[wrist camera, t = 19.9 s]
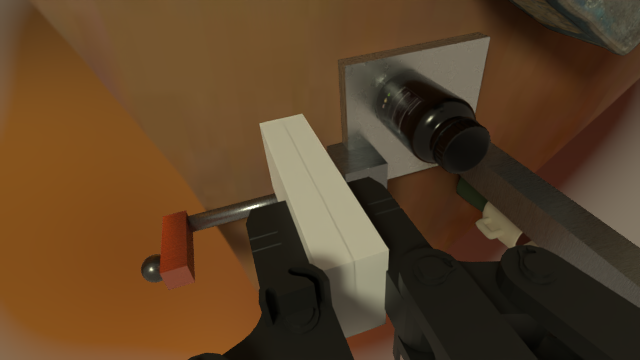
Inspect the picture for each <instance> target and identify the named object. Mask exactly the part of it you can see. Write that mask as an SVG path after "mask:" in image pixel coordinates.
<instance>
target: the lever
mask: <svg viewBox="0 0 640 360" xmlns="http://www.w3.org/2000/svg"><path fill="white" fill-rule="evenodd" d="M277 202H278V200H277V197H276V194H275V193H274V194H270V195H266V196H263V197H259V198H255V199H251V200H247V201H244V202H240V203H236V204H232V205H229V206H225V207H221V208H217V209H213V210H210V211H206V212H202V213H198V214H195V215H191V216H188V215H187V212H186V211H182V212H178V213H174V214H171V215H166V216H163V223H162V240H161V255H160V254H155V255H151V256H149V257H148V258H146V259H145V261H144V262H143V264H142V267H141V273H142V276H143V277H144V278H145V279H146V280H147V281H149V282H159V281H162V280H163V281H164V282H165V284H166V286H167V288H168V289H169V290H170V289H173V288H177V287H180V286H184V285H187V284H190V283H193V282H195V271H194V249H193V232H195V231H199V230H203V229H206V228H210V227H214V226H217V225H221V224H225V223H228V222H232V221H236V220H239V219H243V218H247V217H248V216H249V213H250V210H251V209H254V208H258V207H262V206H266V205H269V204H273V203H277Z"/></svg>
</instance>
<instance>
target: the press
mask: <svg viewBox="0 0 640 360" xmlns="http://www.w3.org/2000/svg"><path fill="white" fill-rule="evenodd" d="M489 40H490V36H487V35H484V34H482V33H479V32H477V33H472V34H467V35H462V36H457V37H452V38H447V39H442V40H437V41H432V42H427V43H422V44H417V45H412V46H407V47H402V48H397V49H392V50H386V51H381V52H376V53H371V54H366V55H361V56H356V57H351V58H346V59H341V60H338V69H339V87H340V105H341V123H342V141H343V143H339V144H335V145H331V146H327V152H328V155H329V157H330V158H331V160H332V161H333V163H334V165H335V166H336V168H337V169H338V171H339V172H340V174H341V176H342V177H343V179H344V180H345V182H346V183H347V182H350V181H354V180H358V179H361V178H365V177H371V178H372V179H374V180H376V181H378V182H379V183H381V184H383V185H384V186H385V188H386V189H387V179H391V178H394V177H398V176H402V175H405V174H409V173H412V172H416V171H420V170H423V169H427V168H431V167H434V166H438V164H431V163H426V162H423V161H420V160H419V159H418V158H416V157H415V156H414V155H413V154H412V153H411V152H410V151H409V150H408V149H407V148H406V147H405V146H404V145H403V144H402V143H401V142H400V141H399V140H398V139H397V138H396V137H395V136H394V135H393V134H392V133H391V132H390V131H389V130H388V129H387V128H386V127H385V126H384V125H383V124H382V123H381V122H380V120H379V119H378V116H377V113H376V100H377V97H378V94H379V92H380V90H381V88H382V87H383V85H384V84H385V83H386V82H387V81H388V80H389V79H390V78H392V77H393V76H395V75H397V74H399V73H401V72H405V71H415V72H419V73H421V74H423V75H424V76H426V77H428V78H430V79H431V80H433V81H434V82H436V83H438V84H439V85H441V86H443V87H444V88H446V89H447V90H449V91H451V92H452V93H454V94H456V95H457V96H459V97H460V98H462V99H464V100H465V101H466V102H468V103H469V104H470V105H471V107H472V108H473V110H474V113H475V111H476V106H477V101H478V96H479V91H480V86H481V81H482V76H483V71H484V66H485V61H486V55H487V50H488V45H489ZM459 175H460V176H461V177H462V178H464V179H465V180H466V181H467V182H468V183H469V184H470V185H471V186H472V187H473V188H475V189H476V190H477V191H478V192H479V193H480V194H481V195H482V196H483V197H485V198H486V199H487V200H488V201H489V202H490V203H491V204H492V205H493V206H494V207H496V208H497V209H498V210H499V211H500V212H501V213H502V214H503V215H504V216H506V217H507V218H508V219H509V220H510V221H511V222H512V223H513V224H514V225H515V226H517V227H518V228H519V229H520V230H521V231H522V232H523V233H524V234H525V235H526V236H528V237H529V238H530V239H531V240H532V241H533V242H534V243H535V244H536V245H538V246H539V247H541V248H544V249H546V250H548V251H550V252H552V253H554V254H556V255H558V256H560V257H561V258H563V259H564V260H566V261H567V262H569V263H570V264H572V265H574V266H575V267H577V268H578V269H580V270H581V271H583V272H584V273H586V274H588V275H589V276H591V277H592V278H594V279H595V280H597V281H598V282H600V283H602V284H603V285H605V286H606V287H608V288H609V289H611V290H613V291H614V292H616V293H617V294H619V295H620V296H622V297H623V298H625V299H627V300H628V301H630V302H631V303H633V304H634V305H636V306H637V307H639V308H640V248H639V247H638V246H636V245H635V244H633V243H632V242H631V241H629V240H628V239H626V238H625V237H624V236H622V235H621V234H619V233H618V232H616V231H615V230H613V229H612V228H611V227H609V226H608V225H607V224H605V223H604V222H602V221H601V220H600V219H598V218H597V217H595V216H594V215H593V214H591V213H590V212H588V211H587V210H586V209H584V208H583V207H581V206H580V205H578V204H577V203H576V202H574V201H573V200H571V199H570V198H569V197H567V196H566V195H564V194H563V193H562V192H560V191H559V190H557V189H556V188H555V187H553V186H552V185H550V184H549V183H547V182H546V181H545V180H543V179H542V178H540V177H539V176H538V175H536V174H535V173H533V172H532V171H531V170H529V169H528V168H526V167H525V166H524V165H522V164H521V163H519V162H518V161H516V160H515V159H514V158H512V157H511V156H509V155H508V154H507V153H505V152H504V151H502V150H501V149H500V148H498V147H497V146H495V145H494V144H493V143H491V142H490V146H489V150H488V151H487V154H486V155H485V156H484V158H483V159H482V160H481V162H480V163H478V164H477V166H475V167H473V168H472V169H470V170H469V171H467V172H464V173H459Z"/></svg>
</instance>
